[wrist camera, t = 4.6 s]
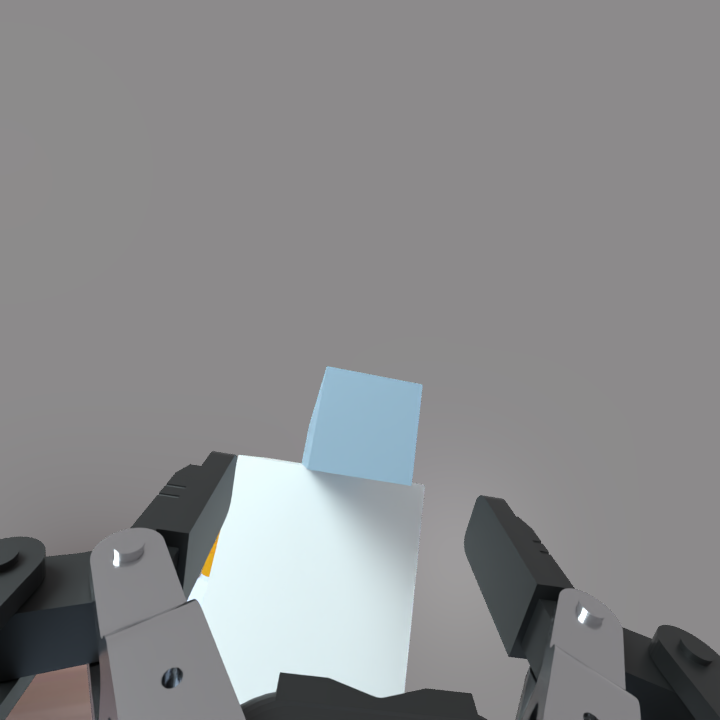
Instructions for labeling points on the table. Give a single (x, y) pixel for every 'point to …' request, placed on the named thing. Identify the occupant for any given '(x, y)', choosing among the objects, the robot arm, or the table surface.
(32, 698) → the table surface
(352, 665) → the storage box
